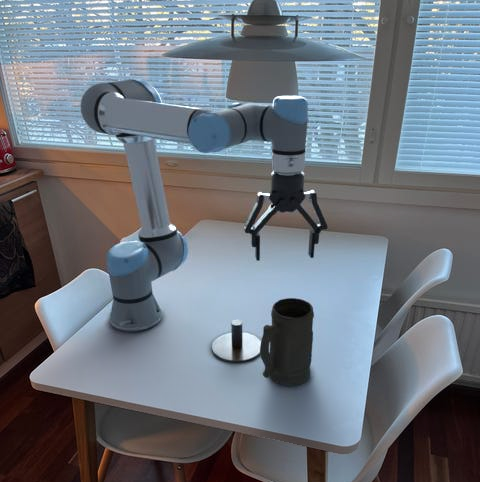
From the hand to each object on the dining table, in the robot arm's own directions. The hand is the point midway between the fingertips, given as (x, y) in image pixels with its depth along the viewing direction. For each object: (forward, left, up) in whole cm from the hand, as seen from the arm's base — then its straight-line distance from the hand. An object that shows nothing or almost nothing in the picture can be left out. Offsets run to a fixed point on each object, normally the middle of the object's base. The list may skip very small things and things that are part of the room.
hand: (284, 257), depth 119 cm
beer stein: (+11, -11, -27) cm, 31 cm away
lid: (-7, -10, -26) cm, 29 cm away
